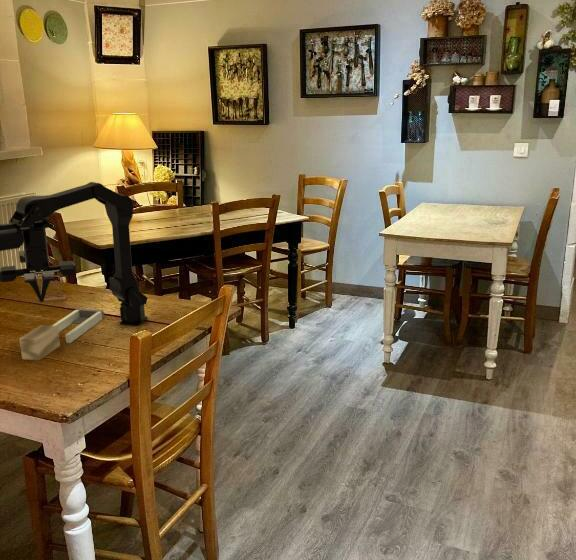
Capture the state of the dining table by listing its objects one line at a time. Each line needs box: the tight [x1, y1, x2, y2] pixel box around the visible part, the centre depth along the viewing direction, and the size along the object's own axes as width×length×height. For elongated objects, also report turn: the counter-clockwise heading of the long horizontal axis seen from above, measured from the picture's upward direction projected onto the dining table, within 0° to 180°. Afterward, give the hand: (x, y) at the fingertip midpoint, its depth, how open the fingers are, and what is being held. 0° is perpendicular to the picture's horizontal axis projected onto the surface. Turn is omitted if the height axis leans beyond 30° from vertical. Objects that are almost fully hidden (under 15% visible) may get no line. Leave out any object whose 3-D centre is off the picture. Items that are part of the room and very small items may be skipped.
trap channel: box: [51, 308, 105, 344], centre depth 176 cm, size 9×20×2 cm, turn 170°
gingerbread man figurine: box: [36, 273, 68, 304], centre depth 199 cm, size 9×4×12 cm, turn 104°
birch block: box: [18, 324, 61, 361], centre depth 159 cm, size 5×10×6 cm, turn 169°
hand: (41, 301), depth 159 cm, fingers closed
